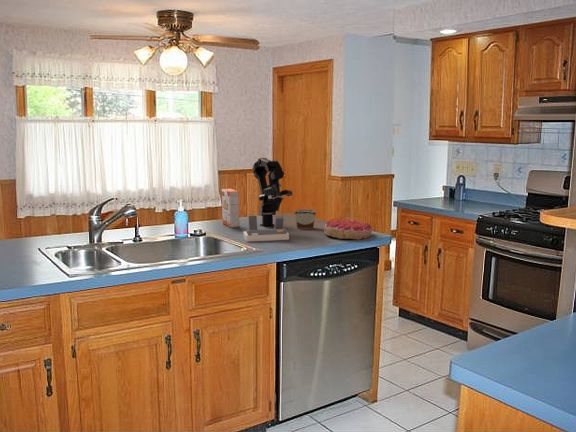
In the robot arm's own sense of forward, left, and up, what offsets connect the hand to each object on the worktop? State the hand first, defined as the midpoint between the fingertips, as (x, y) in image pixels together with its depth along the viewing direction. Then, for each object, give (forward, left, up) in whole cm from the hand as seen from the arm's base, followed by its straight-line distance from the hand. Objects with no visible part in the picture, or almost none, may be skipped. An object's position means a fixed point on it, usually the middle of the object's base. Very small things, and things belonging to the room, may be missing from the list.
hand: (276, 211), depth 298 cm
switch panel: (+11, -15, -11) cm, 22 cm away
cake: (+31, +24, -12) cm, 41 cm away
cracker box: (-30, -12, -12) cm, 34 cm away
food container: (+1, +19, -12) cm, 23 cm away
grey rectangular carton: (+14, -9, -8) cm, 19 cm away
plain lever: (+9, -21, -8) cm, 24 cm away
